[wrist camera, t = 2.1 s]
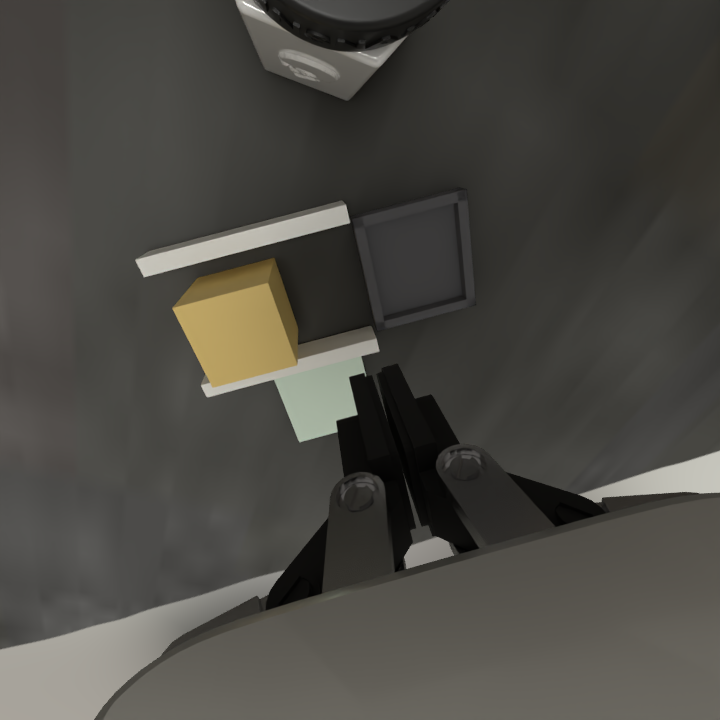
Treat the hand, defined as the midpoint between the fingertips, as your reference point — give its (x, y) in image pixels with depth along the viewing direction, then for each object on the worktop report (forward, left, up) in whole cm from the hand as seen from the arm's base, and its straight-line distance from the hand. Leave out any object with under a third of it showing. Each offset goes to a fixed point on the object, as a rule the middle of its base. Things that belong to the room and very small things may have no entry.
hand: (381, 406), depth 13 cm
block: (+6, 0, -15) cm, 16 cm away
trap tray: (-5, 0, -14) cm, 15 cm away
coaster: (+3, +8, -15) cm, 17 cm away
